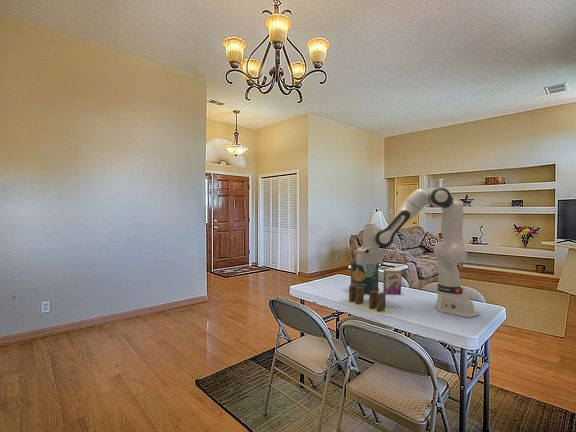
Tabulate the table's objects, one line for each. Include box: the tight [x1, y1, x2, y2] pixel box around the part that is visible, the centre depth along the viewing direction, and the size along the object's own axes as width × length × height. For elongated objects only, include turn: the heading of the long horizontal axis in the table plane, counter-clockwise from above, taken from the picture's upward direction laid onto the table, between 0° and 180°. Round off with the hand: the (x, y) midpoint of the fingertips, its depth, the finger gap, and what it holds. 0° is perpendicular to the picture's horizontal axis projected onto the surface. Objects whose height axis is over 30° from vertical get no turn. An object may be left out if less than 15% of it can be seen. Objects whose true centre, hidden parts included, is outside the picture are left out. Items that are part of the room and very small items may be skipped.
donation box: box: [350, 260, 380, 296], centre depth 219 cm, size 16×16×28 cm
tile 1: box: [377, 292, 387, 312], centre depth 176 cm, size 2×5×10 cm, turn 123°
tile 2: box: [368, 290, 379, 309], centre depth 180 cm, size 2×5×10 cm, turn 123°
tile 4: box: [355, 286, 365, 304], centre depth 189 cm, size 2×5×10 cm, turn 123°
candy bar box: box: [383, 268, 402, 295], centre depth 215 cm, size 11×5×16 cm, turn 84°
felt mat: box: [339, 298, 396, 316], centre depth 185 cm, size 31×15×1 cm, turn 33°
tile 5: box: [348, 284, 357, 302], centre depth 194 cm, size 2×5×10 cm, turn 123°
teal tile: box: [365, 264, 373, 277], centre depth 196 cm, size 2×5×10 cm, turn 122°
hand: (369, 271), depth 196 cm, fingers closed on teal tile, 5 cm apart
